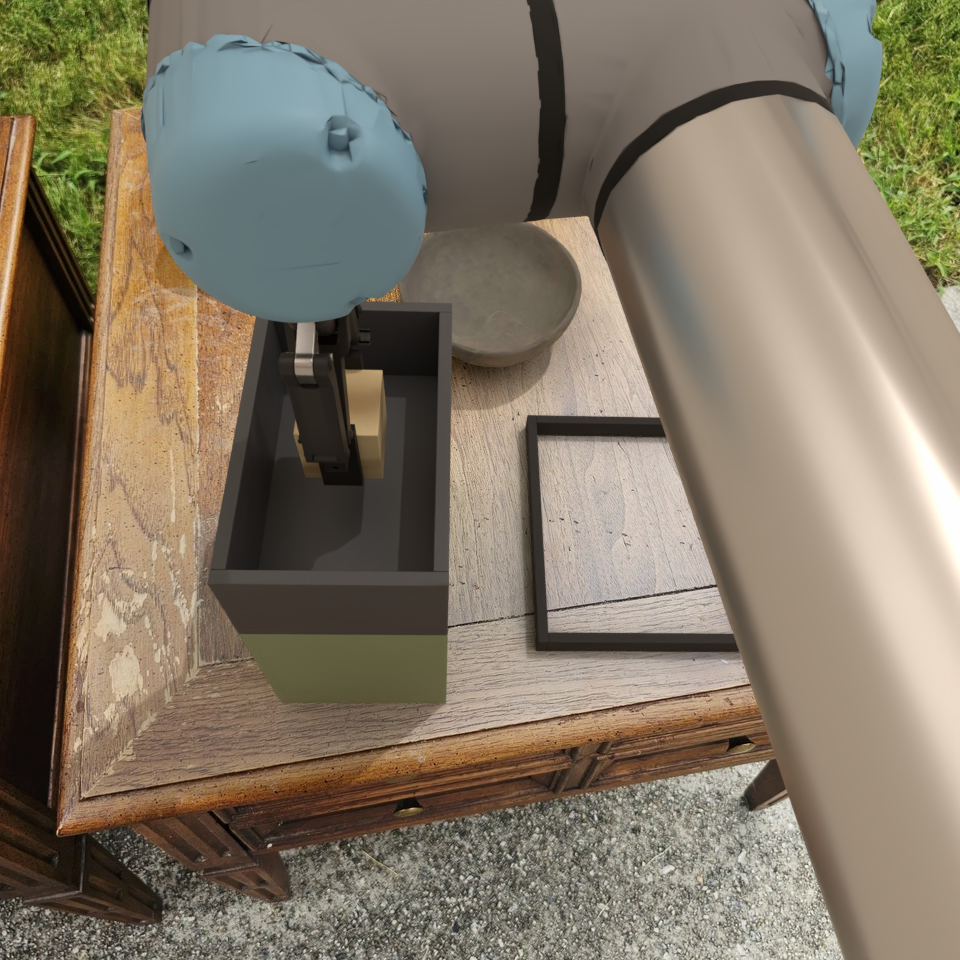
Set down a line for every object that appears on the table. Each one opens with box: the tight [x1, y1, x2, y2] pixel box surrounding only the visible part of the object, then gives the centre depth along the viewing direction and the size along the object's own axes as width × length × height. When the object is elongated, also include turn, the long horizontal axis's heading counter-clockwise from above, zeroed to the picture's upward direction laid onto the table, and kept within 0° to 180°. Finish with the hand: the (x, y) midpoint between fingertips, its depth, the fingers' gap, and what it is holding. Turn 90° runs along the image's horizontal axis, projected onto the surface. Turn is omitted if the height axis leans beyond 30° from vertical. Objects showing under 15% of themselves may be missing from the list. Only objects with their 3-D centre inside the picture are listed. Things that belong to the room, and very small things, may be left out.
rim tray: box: [524, 414, 740, 653], centre depth 82 cm, size 26×22×2 cm
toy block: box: [294, 369, 387, 479], centre depth 55 cm, size 6×6×6 cm
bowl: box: [397, 222, 583, 368], centre depth 93 cm, size 21×21×8 cm
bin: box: [206, 300, 453, 636], centre depth 59 cm, size 24×15×9 cm, turn 1°
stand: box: [238, 634, 449, 704], centre depth 71 cm, size 24×15×18 cm, turn 0°
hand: (347, 444), depth 57 cm, fingers closed on toy block, 5 cm apart
